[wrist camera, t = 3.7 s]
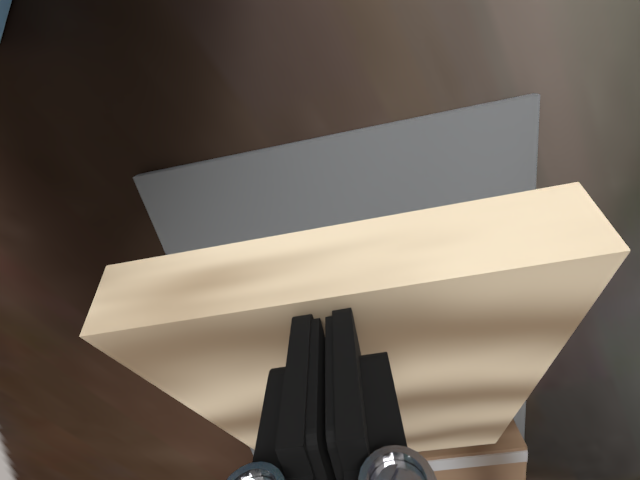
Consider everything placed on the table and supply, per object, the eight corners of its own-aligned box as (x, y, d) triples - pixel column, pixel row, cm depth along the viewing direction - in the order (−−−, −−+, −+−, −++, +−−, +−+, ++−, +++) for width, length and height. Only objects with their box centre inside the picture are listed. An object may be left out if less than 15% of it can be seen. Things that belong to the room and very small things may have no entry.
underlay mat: (533, 93, 18) (540, 94, 17) (518, 481, 31) (522, 489, 30) (137, 174, 20) (132, 177, 19) (279, 504, 33) (278, 512, 32)
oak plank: (482, 403, 25) (495, 443, 24) (280, 427, 27) (280, 466, 25) (578, 181, 10) (630, 250, 9) (106, 265, 12) (79, 336, 10)
